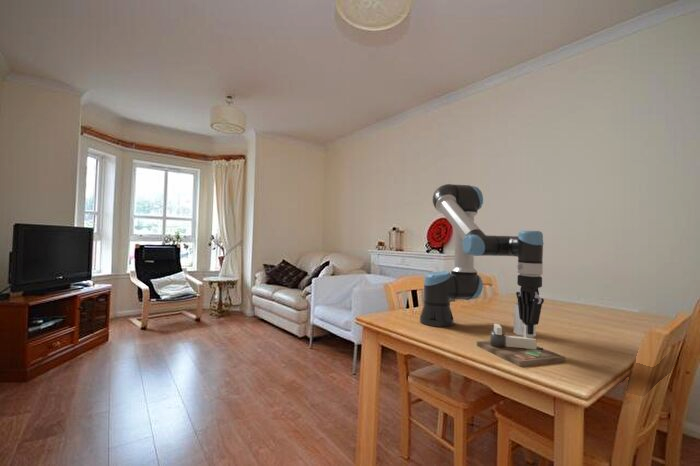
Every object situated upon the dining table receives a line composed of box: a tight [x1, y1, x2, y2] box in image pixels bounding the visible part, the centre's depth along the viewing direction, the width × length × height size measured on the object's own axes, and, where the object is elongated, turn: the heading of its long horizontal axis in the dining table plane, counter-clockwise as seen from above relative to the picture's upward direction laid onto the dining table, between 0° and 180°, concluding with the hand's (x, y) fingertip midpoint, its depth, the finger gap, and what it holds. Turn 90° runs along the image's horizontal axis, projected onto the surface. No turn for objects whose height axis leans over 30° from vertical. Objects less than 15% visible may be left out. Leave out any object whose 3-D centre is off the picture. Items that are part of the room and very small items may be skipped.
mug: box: [512, 302, 537, 338], centre depth 133 cm, size 12×8×12 cm
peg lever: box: [489, 323, 544, 350], centre depth 111 cm, size 16×6×7 cm, turn 75°
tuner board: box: [476, 339, 566, 367], centre depth 110 cm, size 20×18×2 cm
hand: (528, 342), depth 112 cm, fingers closed
